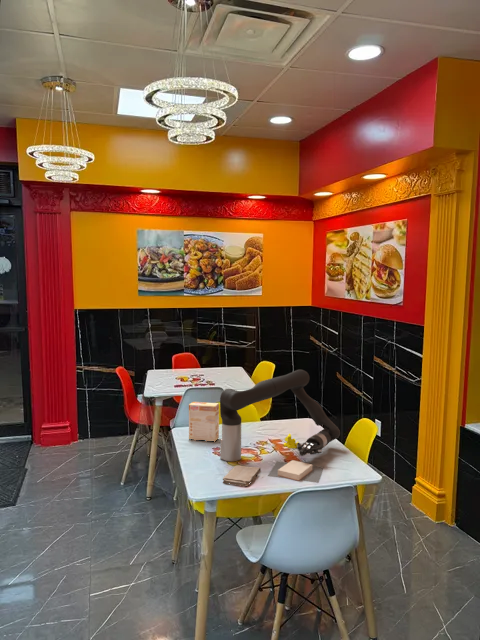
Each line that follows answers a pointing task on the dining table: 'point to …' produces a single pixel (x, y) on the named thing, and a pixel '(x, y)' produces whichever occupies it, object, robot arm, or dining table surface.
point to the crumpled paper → (290, 442)
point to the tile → (295, 470)
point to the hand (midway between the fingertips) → (301, 453)
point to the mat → (311, 477)
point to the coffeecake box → (204, 421)
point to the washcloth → (241, 475)
